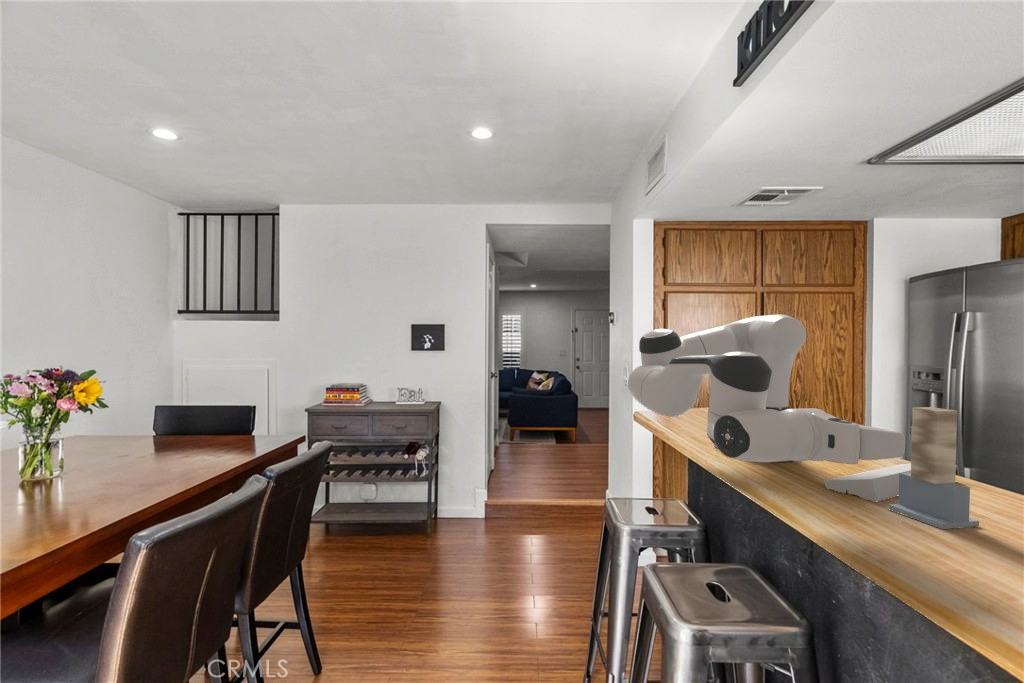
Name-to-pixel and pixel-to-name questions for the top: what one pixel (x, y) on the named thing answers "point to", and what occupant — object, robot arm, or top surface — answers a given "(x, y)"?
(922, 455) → the ash post
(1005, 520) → the top surface
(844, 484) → the decorative molding
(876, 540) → the top surface
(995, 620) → the top surface
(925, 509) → the ridge block
